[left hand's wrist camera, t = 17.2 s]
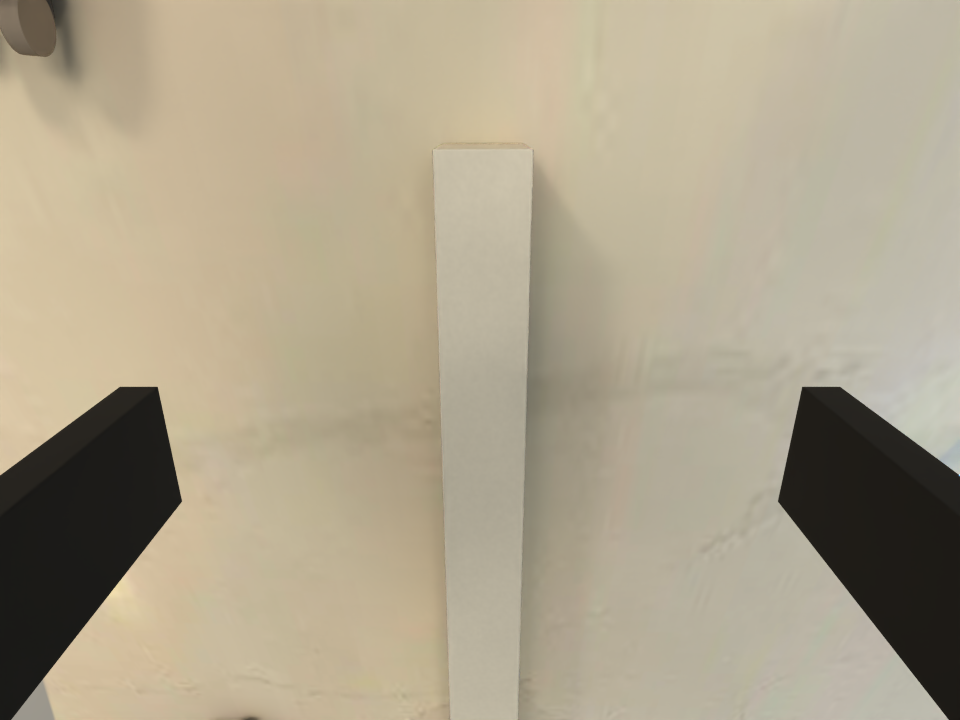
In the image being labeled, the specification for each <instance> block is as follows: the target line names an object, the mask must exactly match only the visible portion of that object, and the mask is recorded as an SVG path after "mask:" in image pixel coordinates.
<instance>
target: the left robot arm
mask: <svg viewBox="0 0 960 720" xmlns="http://www.w3.org/2000/svg"><path fill="white" fill-rule="evenodd" d="M181 502H182V499H181V495H180V490H179V485H178V480H177V476H176V471H175V466H174V462H173V457H172V452H171V448H170V443H169V438H168V433H167V429H166V424H165V419H164V415H163V410H162V405H161V401H160V396H159V391H158V387H119V388H118V389H117V390H115V391H114V392H112V393H111V394H110V395H108V396H107V397H106V398H104V399H103V400H102V401H100V402H99V403H98V404H96V405H95V406H94V407H92V408H91V409H90V410H88V411H87V412H85V413H84V414H83V415H81V416H80V417H79V418H77V419H76V420H75V421H73V422H72V423H71V424H69V425H68V426H67V427H65V428H64V429H62V430H61V431H60V432H58V433H57V434H56V435H54V436H53V437H52V438H50V439H49V440H48V441H46V442H45V443H44V444H42V445H41V446H39V447H38V448H37V449H35V450H34V451H33V452H31V453H30V454H29V455H27V456H26V457H25V458H23V459H22V460H21V461H19V462H18V463H17V464H15V465H14V466H12V467H11V468H10V469H8V470H7V471H6V472H4V473H3V474H2V475H0V720H11V719H12V718H13V717H14V715H15V714H16V713H17V712H18V710H19V709H20V708H21V706H22V705H23V704H24V703H25V701H26V700H27V699H28V697H29V696H30V695H31V694H32V692H33V691H34V690H35V688H36V687H37V686H38V685H39V683H40V682H41V681H42V680H43V678H44V677H45V676H46V674H47V673H48V672H49V671H50V669H51V668H52V667H53V666H54V664H55V663H56V662H57V660H58V659H59V658H60V657H61V655H62V654H63V653H64V651H65V650H66V649H67V648H68V646H69V645H70V644H71V643H72V641H73V640H74V639H75V637H76V636H77V635H78V634H79V632H80V631H81V630H82V628H83V627H84V626H85V625H86V623H87V622H88V621H89V620H90V618H91V617H92V616H93V614H94V613H95V612H96V611H97V609H98V608H99V607H100V605H101V604H102V603H103V602H104V600H105V599H106V598H107V597H108V595H109V594H110V593H111V591H112V590H113V589H114V588H115V586H116V585H117V584H118V582H119V581H120V580H121V579H122V577H123V576H124V575H125V574H126V572H127V571H128V570H129V568H130V567H131V566H132V565H133V563H134V562H135V561H136V559H137V558H138V557H139V556H140V554H141V553H142V552H143V551H144V549H145V548H146V547H147V545H148V544H149V543H150V542H151V540H152V539H153V538H154V536H155V535H156V534H157V533H158V531H159V530H160V529H161V528H162V526H163V525H164V524H165V522H166V521H167V520H168V519H169V517H170V516H171V515H172V513H173V512H174V511H175V510H176V508H177V507H178V506H179V505H180V503H181ZM778 502H779V503H780V505H781V506H782V507H783V508H784V510H785V511H786V512H787V514H788V515H789V516H790V517H791V519H792V520H793V521H794V522H795V524H796V525H797V526H798V528H799V529H800V530H801V531H802V533H803V534H804V535H805V536H806V538H807V539H808V540H809V542H810V543H811V544H812V545H813V547H814V548H815V549H816V551H817V552H818V553H819V554H820V556H821V557H822V558H823V559H824V561H825V562H826V563H827V565H828V566H829V567H830V568H831V570H832V571H833V572H834V574H835V575H836V576H837V577H838V579H839V580H840V581H841V582H842V584H843V585H844V586H845V588H846V589H847V590H848V591H849V593H850V594H851V595H852V597H853V598H854V599H855V600H856V602H857V603H858V604H859V605H860V607H861V608H862V609H863V611H864V612H865V613H866V614H867V616H868V617H869V618H870V620H871V621H872V622H873V623H874V625H875V626H876V627H877V628H878V630H879V631H880V632H881V634H882V635H883V636H884V637H885V639H886V640H887V641H888V643H889V644H890V645H891V646H892V648H893V649H894V650H895V651H896V653H897V654H898V655H899V657H900V658H901V659H902V660H903V662H904V663H905V664H906V666H907V667H908V668H909V669H910V671H911V672H912V673H913V674H914V676H915V677H916V678H917V680H918V681H919V682H920V683H921V685H922V686H923V687H924V689H925V690H926V691H927V692H928V694H929V695H930V696H931V697H932V699H933V700H934V701H935V703H936V704H937V705H938V706H939V708H940V709H941V710H942V712H943V713H944V714H945V715H946V717H947V718H948V719H949V720H960V475H958V474H957V473H956V472H954V471H953V470H952V469H950V468H949V467H948V466H946V465H945V464H943V463H942V462H941V461H939V460H938V459H937V458H935V457H934V456H933V455H931V454H930V453H929V452H927V451H926V450H925V449H923V448H922V447H921V446H919V445H918V444H916V443H915V442H914V441H912V440H911V439H910V438H908V437H907V436H906V435H904V434H903V433H902V432H900V431H899V430H898V429H896V428H895V427H893V426H892V425H891V424H889V423H888V422H887V421H885V420H884V419H883V418H881V417H880V416H879V415H877V414H876V413H875V412H873V411H872V410H870V409H869V408H868V407H866V406H865V405H864V404H862V403H861V402H860V401H858V400H857V399H856V398H854V397H853V396H852V395H850V394H849V393H848V392H846V391H845V390H843V389H842V388H841V387H802V391H801V396H800V401H799V405H798V410H797V415H796V419H795V424H794V429H793V433H792V438H791V443H790V448H789V452H788V457H787V462H786V466H785V471H784V476H783V480H782V485H781V490H780V495H779V499H778Z"/></svg>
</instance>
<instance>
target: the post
mask: <svg viewBox="0 0 960 720" xmlns="http://www.w3.org/2000/svg"><path fill="white" fill-rule="evenodd" d="M533 151H534V150H533V149H532V148H530V147H528V146H527V145H525V144H523V143H443V144H441V145H439V146H438V147H436V148H434V149H433V151H432V154H433V186H434V219H435V252H436V284H437V317H438V349H439V382H440V415H441V447H442V480H443V512H444V545H445V577H446V610H447V643H448V675H449V708H450V720H518V703H519V666H520V629H521V592H522V556H523V519H524V482H525V445H526V409H527V372H528V335H529V298H530V262H531V225H532V188H533Z"/></svg>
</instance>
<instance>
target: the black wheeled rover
mask: <svg viewBox="0 0 960 720" xmlns="http://www.w3.org/2000/svg"><path fill="white" fill-rule="evenodd" d="M54 19H55V16H54V11H53V7H52V3H51V0H0V28H1V31H2V33H3V35H4V37H5V39H6V41H7V42H8V44H9V45H10V46H11V47H12V48H13V49H14V50H15V51H16V52H18V53H19V54H22V55H32V56H43V57H46V56H49V55H50V54H51V53H52V52H53V50H54V48H55V44H56V28H55V22H54Z"/></svg>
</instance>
